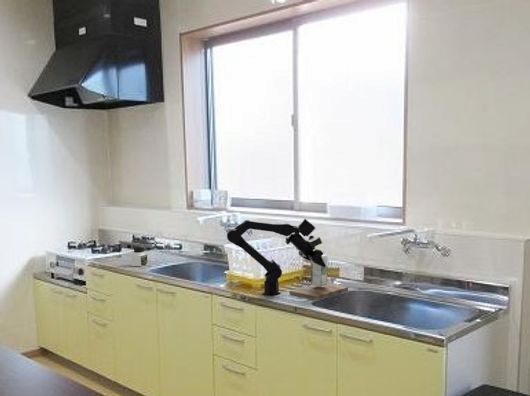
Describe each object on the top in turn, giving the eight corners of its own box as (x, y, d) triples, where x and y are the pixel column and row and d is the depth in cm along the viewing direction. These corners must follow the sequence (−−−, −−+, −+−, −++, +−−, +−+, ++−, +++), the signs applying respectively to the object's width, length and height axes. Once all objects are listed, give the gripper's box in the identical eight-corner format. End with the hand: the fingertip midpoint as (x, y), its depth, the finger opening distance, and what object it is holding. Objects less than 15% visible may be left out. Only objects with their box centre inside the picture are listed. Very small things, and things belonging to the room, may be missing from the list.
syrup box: (317, 282, 260) (317, 253, 259) (327, 284, 256) (327, 254, 255) (310, 285, 256) (310, 255, 255) (321, 286, 252) (321, 256, 251)
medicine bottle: (141, 267, 325) (140, 247, 324) (131, 266, 327) (130, 247, 326) (147, 264, 331) (146, 245, 331) (137, 264, 334) (137, 245, 333)
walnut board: (315, 299, 239) (315, 296, 238) (289, 294, 250) (289, 291, 250) (348, 290, 255) (348, 287, 255) (322, 285, 267) (322, 282, 267)
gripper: (319, 233, 244) (341, 255, 248) (304, 228, 262) (325, 249, 266) (303, 251, 242) (325, 273, 246) (289, 245, 260) (310, 266, 264)
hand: (321, 265), depth 256 cm, fingers closed on syrup box, 7 cm apart
